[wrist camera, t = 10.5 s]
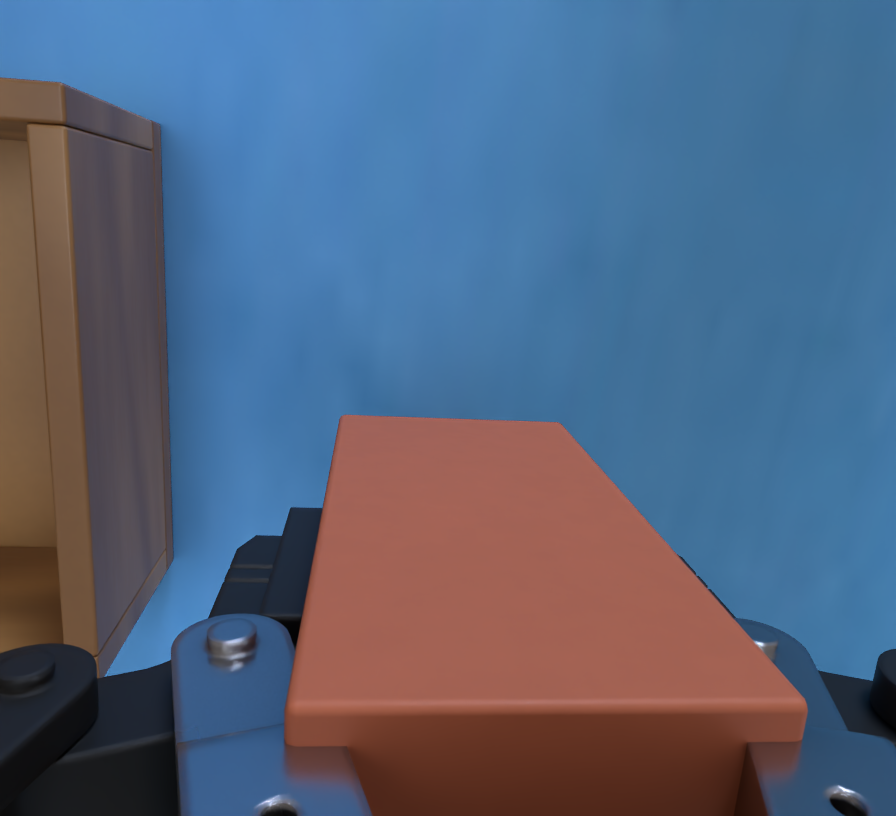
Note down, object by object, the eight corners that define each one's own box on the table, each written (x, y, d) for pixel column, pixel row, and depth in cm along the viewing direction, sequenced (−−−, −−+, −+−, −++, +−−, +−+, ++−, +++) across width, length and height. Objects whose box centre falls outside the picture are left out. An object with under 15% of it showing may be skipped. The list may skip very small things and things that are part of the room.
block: (561, 421, 14) (816, 703, 6) (541, 618, 15) (733, 1091, 7) (340, 413, 14) (283, 706, 5) (334, 617, 15) (280, 1120, 7)
